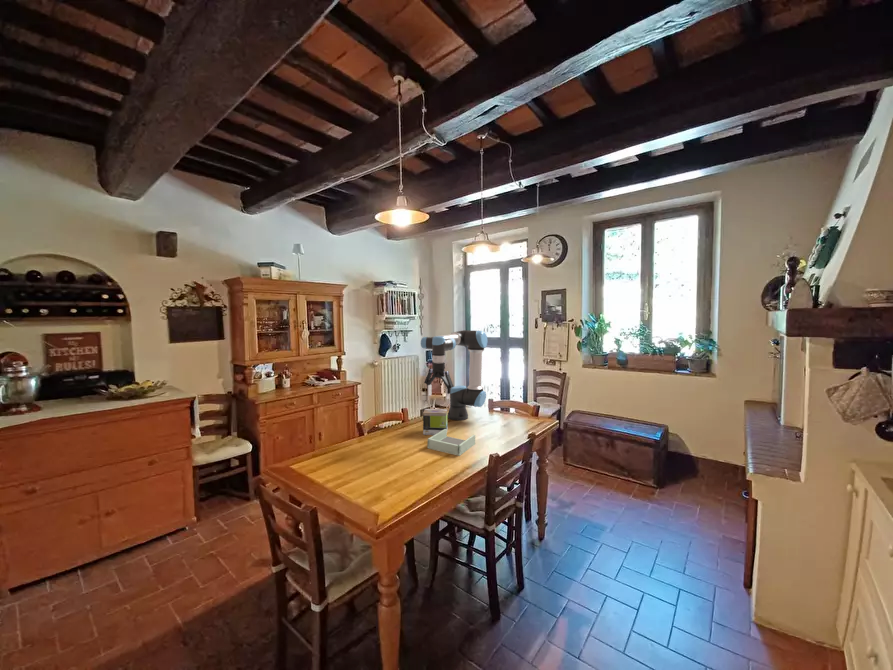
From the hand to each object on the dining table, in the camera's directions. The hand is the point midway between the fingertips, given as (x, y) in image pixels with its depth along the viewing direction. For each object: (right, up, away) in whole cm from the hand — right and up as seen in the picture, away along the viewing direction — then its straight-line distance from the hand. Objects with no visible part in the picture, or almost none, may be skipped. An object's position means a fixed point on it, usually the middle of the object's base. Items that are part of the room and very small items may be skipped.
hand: (438, 397), depth 219 cm
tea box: (-2, -26, +18) cm, 32 cm away
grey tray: (+8, -28, -4) cm, 30 cm away
